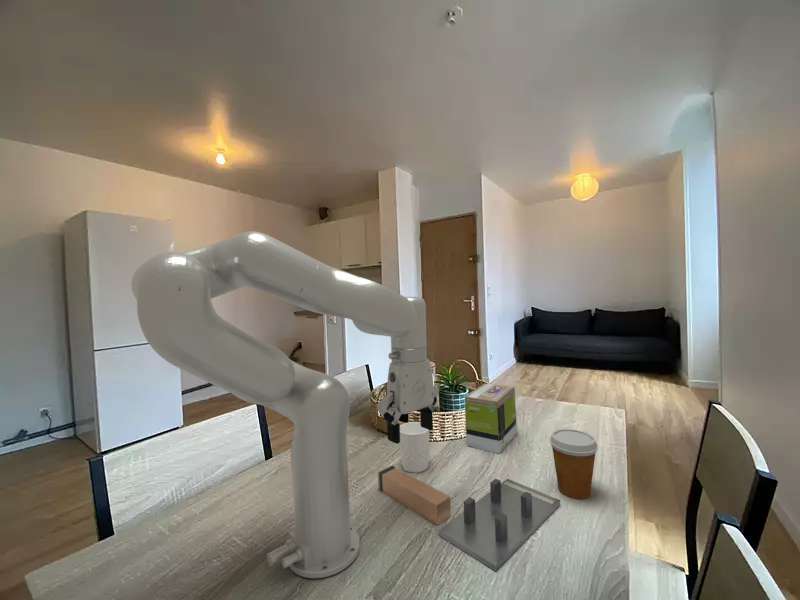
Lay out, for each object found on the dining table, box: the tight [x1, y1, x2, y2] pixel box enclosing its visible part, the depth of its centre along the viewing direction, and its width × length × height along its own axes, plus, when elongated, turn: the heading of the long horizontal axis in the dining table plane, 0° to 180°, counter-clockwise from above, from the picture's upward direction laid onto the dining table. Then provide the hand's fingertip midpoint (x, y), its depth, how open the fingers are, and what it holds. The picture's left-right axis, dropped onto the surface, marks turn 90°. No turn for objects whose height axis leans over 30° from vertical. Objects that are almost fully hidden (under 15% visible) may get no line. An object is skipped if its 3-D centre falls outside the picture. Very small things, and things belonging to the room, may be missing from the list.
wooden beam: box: [377, 465, 452, 526], centre depth 77 cm, size 18×4×4 cm, turn 42°
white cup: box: [399, 421, 430, 474], centre depth 92 cm, size 8×8×10 cm
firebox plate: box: [438, 478, 561, 572], centre depth 70 cm, size 24×12×5 cm, turn 133°
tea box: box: [464, 382, 518, 454], centre depth 105 cm, size 15×10×15 cm, turn 144°
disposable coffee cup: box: [549, 428, 599, 500], centre depth 78 cm, size 10×10×12 cm
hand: (410, 434), depth 77 cm, fingers open, 9 cm apart
